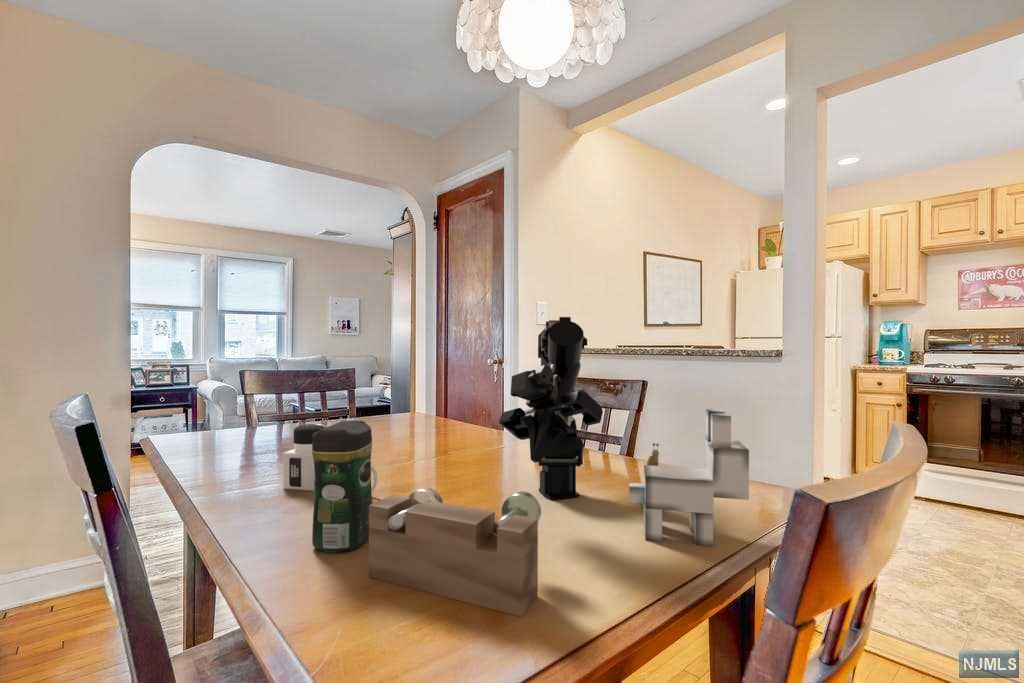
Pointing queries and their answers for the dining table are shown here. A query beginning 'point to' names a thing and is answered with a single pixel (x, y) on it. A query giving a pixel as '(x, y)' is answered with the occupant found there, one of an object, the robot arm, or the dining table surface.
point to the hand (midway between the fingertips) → (534, 461)
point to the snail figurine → (652, 462)
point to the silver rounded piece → (414, 505)
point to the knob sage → (519, 508)
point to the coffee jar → (341, 485)
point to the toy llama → (696, 483)
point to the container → (300, 459)
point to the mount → (456, 553)
